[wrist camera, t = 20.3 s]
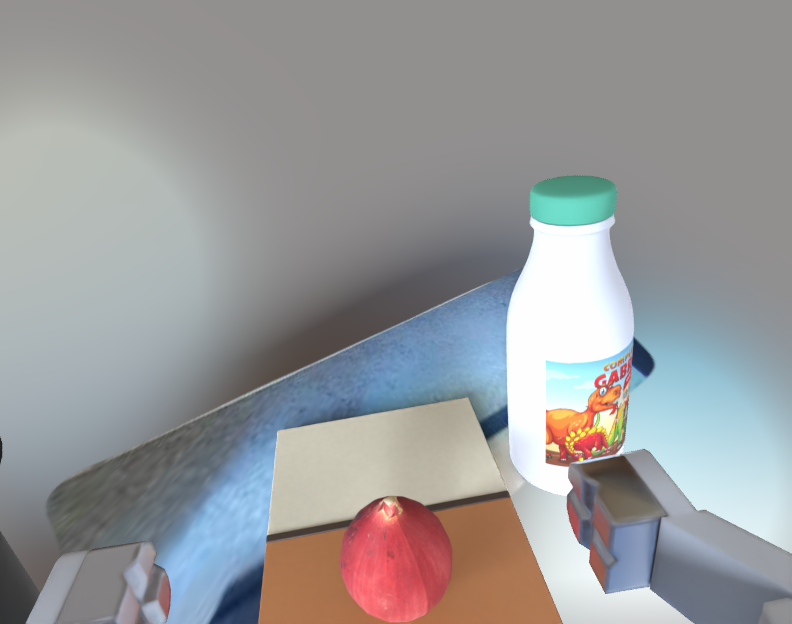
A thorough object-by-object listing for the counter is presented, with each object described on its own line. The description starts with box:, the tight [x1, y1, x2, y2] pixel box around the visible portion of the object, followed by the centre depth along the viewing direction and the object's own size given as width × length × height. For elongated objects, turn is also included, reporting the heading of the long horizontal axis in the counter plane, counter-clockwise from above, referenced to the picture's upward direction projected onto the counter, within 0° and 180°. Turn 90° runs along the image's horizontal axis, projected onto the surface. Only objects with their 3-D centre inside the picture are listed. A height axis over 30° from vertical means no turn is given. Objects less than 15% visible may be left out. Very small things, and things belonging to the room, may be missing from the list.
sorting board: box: [259, 397, 563, 624], centre depth 36 cm, size 16×22×1 cm
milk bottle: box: [506, 176, 634, 495], centre depth 35 cm, size 8×8×20 cm
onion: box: [340, 496, 452, 623], centre depth 28 cm, size 6×6×8 cm
